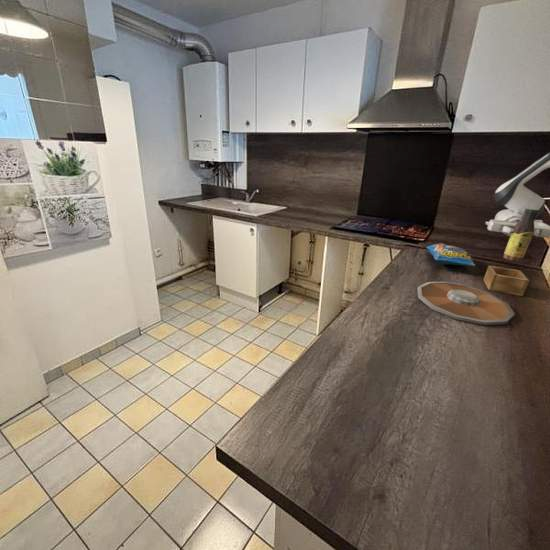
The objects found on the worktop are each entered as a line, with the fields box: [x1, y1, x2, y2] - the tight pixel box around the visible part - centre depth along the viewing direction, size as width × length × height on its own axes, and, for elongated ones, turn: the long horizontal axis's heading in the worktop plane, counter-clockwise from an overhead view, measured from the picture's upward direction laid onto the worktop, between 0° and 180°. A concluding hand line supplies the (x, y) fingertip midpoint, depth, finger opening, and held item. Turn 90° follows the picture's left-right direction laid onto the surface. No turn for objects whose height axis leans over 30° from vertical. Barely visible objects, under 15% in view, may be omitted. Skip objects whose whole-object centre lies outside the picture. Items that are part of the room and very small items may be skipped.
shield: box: [416, 281, 516, 327], centre depth 103 cm, size 30×3×30 cm
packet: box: [426, 242, 476, 267], centre depth 139 cm, size 17×24×8 cm
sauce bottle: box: [502, 208, 539, 262], centre depth 110 cm, size 6×6×20 cm
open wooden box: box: [483, 265, 530, 297], centre depth 116 cm, size 11×11×7 cm
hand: (523, 232), depth 109 cm, fingers closed on sauce bottle, 6 cm apart
